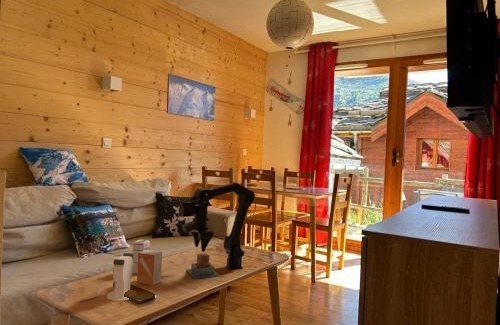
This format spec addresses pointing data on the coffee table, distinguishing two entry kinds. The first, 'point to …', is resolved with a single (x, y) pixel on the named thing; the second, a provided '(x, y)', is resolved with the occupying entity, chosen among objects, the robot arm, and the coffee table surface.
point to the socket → (202, 271)
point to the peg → (202, 260)
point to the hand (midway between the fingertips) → (199, 249)
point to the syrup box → (137, 248)
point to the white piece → (121, 277)
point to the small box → (149, 267)
